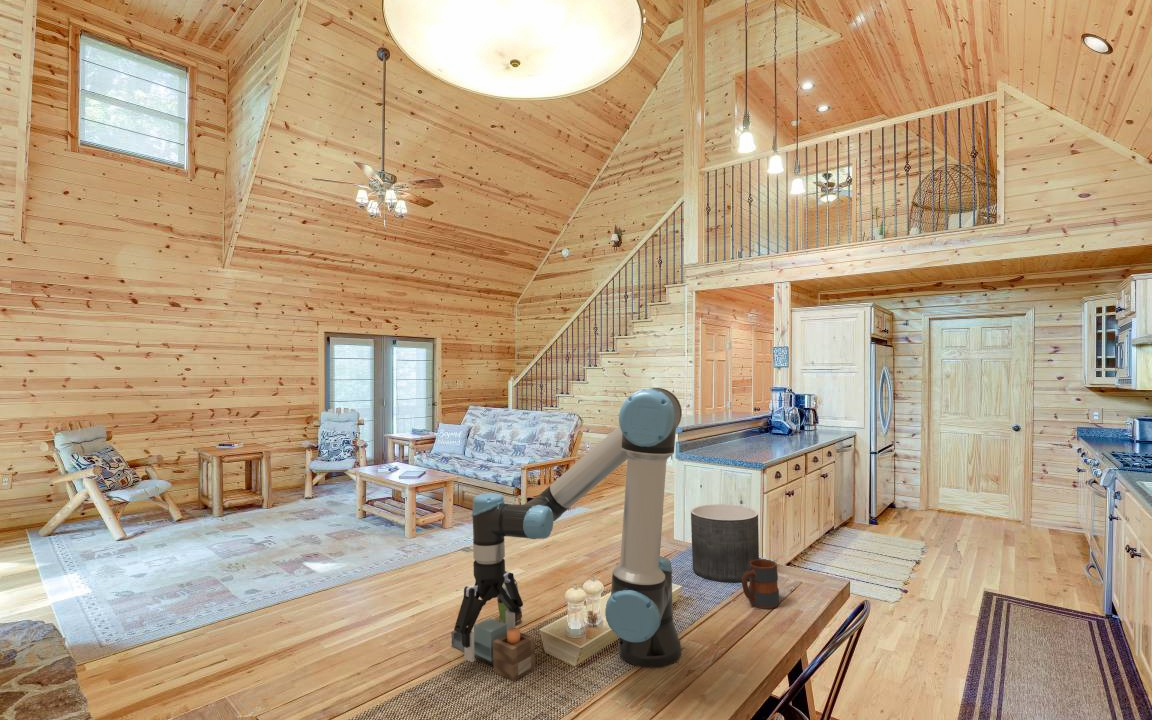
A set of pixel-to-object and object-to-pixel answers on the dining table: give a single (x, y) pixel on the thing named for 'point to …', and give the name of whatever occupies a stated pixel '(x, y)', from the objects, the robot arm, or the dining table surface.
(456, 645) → the rail
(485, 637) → the carriage
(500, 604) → the beverage can
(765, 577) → the mug
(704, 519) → the planter
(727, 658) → the dining table surface
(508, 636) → the orange rounded piece
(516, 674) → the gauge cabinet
